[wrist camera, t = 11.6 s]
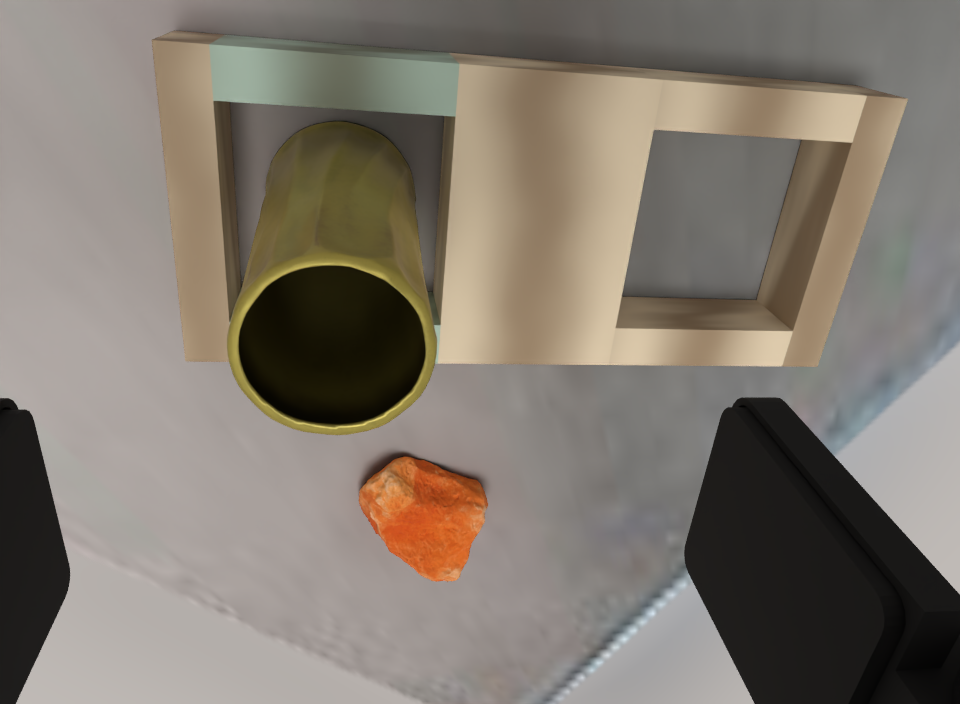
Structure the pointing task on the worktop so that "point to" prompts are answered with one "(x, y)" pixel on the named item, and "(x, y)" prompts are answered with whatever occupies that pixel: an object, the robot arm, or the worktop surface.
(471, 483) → the rock
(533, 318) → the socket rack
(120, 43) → the worktop surface
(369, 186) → the vase
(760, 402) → the robot arm
